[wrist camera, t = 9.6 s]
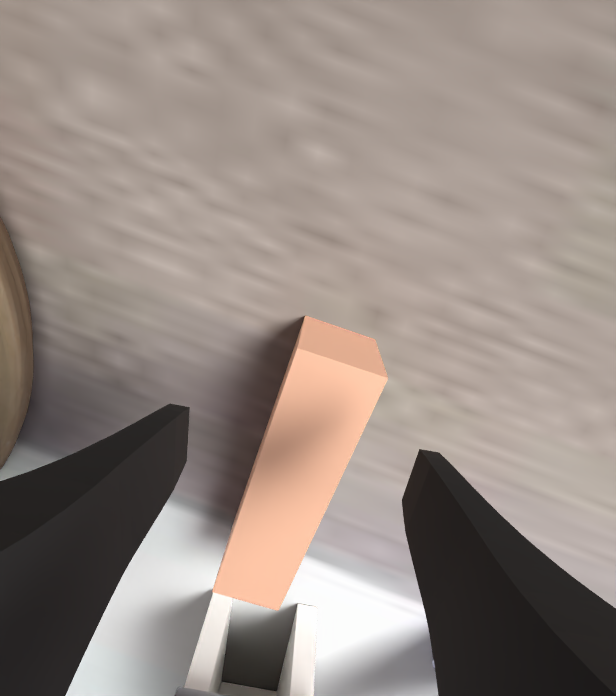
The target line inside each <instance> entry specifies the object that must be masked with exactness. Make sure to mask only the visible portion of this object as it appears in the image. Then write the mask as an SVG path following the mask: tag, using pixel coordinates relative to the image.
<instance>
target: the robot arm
mask: <svg viewBox="0 0 616 696" xmlns="http://www.w3.org/2000/svg"><path fill="white" fill-rule="evenodd" d="M189 408H190V407H185V406H180V405H174V404H169V405H167V406H165V407H163V408H161V409H159V410H157V411H155V412H154V413H152V414H150V415H148V416H146V417H145V418H143V419H141V420H139V421H137V422H136V423H134V424H132V425H130V426H128V427H126V428H124V429H123V430H121V431H119V432H117V433H115V434H113V435H111V436H109V437H107V438H105V439H103V440H101V441H99V442H97V443H95V444H93V445H91V446H89V447H87V448H85V449H82V450H80V451H78V452H76V453H74V454H72V455H69V456H67V457H65V458H62V459H60V460H58V461H55V462H53V463H50V464H47V465H45V466H42V467H40V468H37V469H35V470H32V471H29V472H27V473H24V474H21V475H18V476H15V477H12V478H9V479H6V480H3V481H0V696H65V695H66V693H67V691H68V688H69V686H70V684H71V682H72V680H73V677H74V675H75V673H76V671H77V669H78V666H79V664H80V662H81V660H82V658H83V655H84V653H85V651H86V649H87V647H88V645H89V643H90V641H91V639H92V636H93V634H94V632H95V630H96V628H97V626H98V624H99V622H100V620H101V617H102V615H103V613H104V611H105V609H106V607H107V605H108V603H109V601H110V599H111V597H112V595H113V593H114V591H115V589H116V587H117V585H118V583H119V581H120V579H121V577H122V575H123V573H124V571H125V570H126V568H127V566H128V564H129V563H130V561H131V559H132V557H133V556H134V554H135V552H136V551H137V549H138V548H139V546H140V544H141V543H142V541H143V539H144V538H145V536H146V535H147V533H148V531H149V530H150V528H151V526H152V525H153V523H154V521H155V520H156V518H157V517H158V515H159V513H160V512H161V510H162V508H163V507H164V505H165V503H166V502H167V500H168V498H169V497H170V495H171V493H172V492H173V490H174V488H175V486H176V483H177V481H178V479H179V477H180V475H181V472H182V470H183V468H184V466H185V463H186V461H187V444H188V426H189ZM402 506H403V516H404V524H405V531H406V536H407V541H408V545H409V549H410V553H411V557H412V561H413V565H414V569H415V573H416V577H417V581H418V585H419V589H420V593H421V597H422V601H423V605H424V609H425V614H426V618H427V623H428V628H429V633H430V639H431V646H432V652H433V661H432V663H433V667H434V669H435V672H436V679H437V686H438V694H439V696H616V608H614V607H613V606H611V605H610V604H608V603H607V602H606V601H604V600H603V599H602V598H600V597H599V596H598V595H596V594H595V593H593V592H592V591H591V590H589V589H588V588H587V587H585V586H584V585H583V584H581V583H580V582H578V581H577V580H576V579H575V578H573V577H572V576H571V575H569V574H568V573H567V572H566V571H564V570H563V569H562V568H560V567H559V566H558V565H557V564H556V563H554V562H553V561H552V560H551V559H550V558H548V557H547V556H546V555H545V554H544V553H542V552H541V551H540V550H539V549H537V548H536V547H535V546H534V545H533V544H532V543H531V542H529V541H528V540H527V539H526V538H525V537H524V536H523V535H521V534H520V533H519V532H518V531H517V530H516V529H515V528H514V527H513V526H512V525H511V524H510V523H509V522H508V521H506V520H505V519H504V518H503V517H502V516H501V515H500V514H499V513H498V512H497V511H496V510H495V509H494V508H493V507H492V506H491V505H490V504H489V503H488V502H487V501H486V500H485V499H484V498H483V497H482V496H481V495H480V494H479V493H478V492H477V491H476V490H475V489H474V488H473V487H472V486H471V485H470V484H469V483H468V482H467V480H466V479H465V478H464V477H463V476H462V475H461V474H460V473H459V472H458V471H457V470H456V469H455V468H454V467H453V466H452V465H451V464H450V463H449V462H448V461H447V460H446V459H445V458H444V457H443V456H442V455H441V454H440V453H438V452H432V451H427V450H421V449H419V452H418V455H417V458H416V461H415V464H414V467H413V469H412V472H411V475H410V478H409V481H408V484H407V487H406V490H405V493H404V495H403V498H402Z"/></svg>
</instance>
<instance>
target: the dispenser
mask: <svg viewBox="0 0 616 696" xmlns="http://www.w3.org/2000/svg"><path fill="white" fill-rule="evenodd" d="M232 601H233V598H231V597H228V596H224V595H221V594H217V593H213V595H212V598H211V601H210V605H209V608H208V611H207V614H206V618H205V621H204V624H203V627H202V630H201V634H200V637H199V640H198V643H197V647H196V650H195V653H194V656H193V660H192V663H191V666H190V669H189V672H188V676H187V679H186V682H185V685H184V687H178V688H177V691H176V694H175V696H314V678H315V651H316V624H317V607H314V606H309V605H303V604H298V605H297V609H296V613H295V618H294V622H293V626H292V630H291V634H290V638H289V642H288V647H287V651H286V655H285V659H284V663H283V667H282V671H281V676H280V680H279V684H278V688H277V692H276V691H271V690H265V689H260V688H254V687H248V686H243V685H237V684H232V683H226V682H221V681H222V673H223V666H224V659H225V652H226V644H227V637H228V630H229V623H230V615H231V608H232Z"/></svg>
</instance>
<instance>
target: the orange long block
mask: <svg viewBox="0 0 616 696" xmlns="http://www.w3.org/2000/svg"><path fill="white" fill-rule="evenodd" d="M387 380H388V376H387V373H386V370H385V367H384V364H383V361H382V359H381V356H380V353H379V350H378V347H377V344H376V341H375V339H372V338H370V337H367V336H364V335H361V334H358V333H355V332H352V331H349V330H346V329H343V328H340V327H337V326H334V325H331V324H329V323H326V322H323V321H320V320H317V319H314V318H311V317H308V316H305V318H304V321H303V323H302V326H301V329H300V332H299V335H298V338H297V341H296V344H295V347H294V349H293V352H292V355H291V358H290V361H289V364H288V367H287V370H286V373H285V375H284V378H283V381H282V384H281V387H280V390H279V393H278V396H277V399H276V401H275V404H274V407H273V410H272V413H271V416H270V419H269V422H268V425H267V427H266V430H265V433H264V436H263V439H262V442H261V445H260V448H259V451H258V453H257V456H256V459H255V462H254V465H253V468H252V471H251V474H250V477H249V479H248V482H247V485H246V488H245V491H244V494H243V497H242V500H241V503H240V506H239V508H238V511H237V514H236V517H235V520H234V523H233V526H232V529H231V532H230V536H229V539H228V542H227V545H226V548H225V552H224V555H223V558H222V561H221V565H220V568H219V571H218V574H217V578H216V581H215V584H214V587H213V590H212V592H213V593H217V594H221V595H224V596H228V597H231V598H235V599H238V600H242V601H245V602H249V603H252V604H256V605H259V606H263V607H266V608H270V609H273V610H277V611H278V610H279V608H280V606H281V604H282V602H283V600H284V598H285V596H286V594H287V591H288V589H289V587H290V585H291V583H292V581H293V579H294V577H295V574H296V572H297V570H298V568H299V566H300V564H301V562H302V560H303V558H304V555H305V553H306V551H307V549H308V547H309V545H310V543H311V541H312V538H313V536H314V534H315V532H316V530H317V528H318V526H319V524H320V521H321V519H322V517H323V515H324V513H325V511H326V509H327V507H328V505H329V502H330V500H331V498H332V496H333V494H334V492H335V490H336V488H337V485H338V483H339V481H340V479H341V477H342V475H343V473H344V471H345V469H346V466H347V464H348V462H349V460H350V458H351V456H352V454H353V452H354V449H355V447H356V445H357V443H358V441H359V439H360V437H361V435H362V432H363V430H364V428H365V426H366V424H367V422H368V420H369V418H370V416H371V413H372V411H373V409H374V407H375V405H376V403H377V401H378V399H379V396H380V394H381V392H382V390H383V388H384V386H385V384H386V382H387Z"/></svg>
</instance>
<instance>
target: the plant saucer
mask: <svg viewBox="0 0 616 696" xmlns="http://www.w3.org/2000/svg"><path fill="white" fill-rule="evenodd" d="M32 382H33V333H32V321H31V312H30V304H29V299H28V294H27V289H26V285H25V282H24V278H23V274H22V270H21V267H20V264H19V261H18V258H17V255H16V253H15V250H14V247H13V244H12V242H11V239H10V236H9V234H8V232H7V230H6V228H5V225H4V223H3V221H2V219H1V217H0V469H1V468H2V467H3V465H4V464H5V462H6V460H7V458H8V457H9V455H10V453H11V451H12V449H13V447H14V445H15V443H16V441H17V438H18V435H19V432H20V430H21V427H22V425H23V422H24V419H25V416H26V413H27V410H28V406H29V401H30V396H31V390H32Z"/></svg>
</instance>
